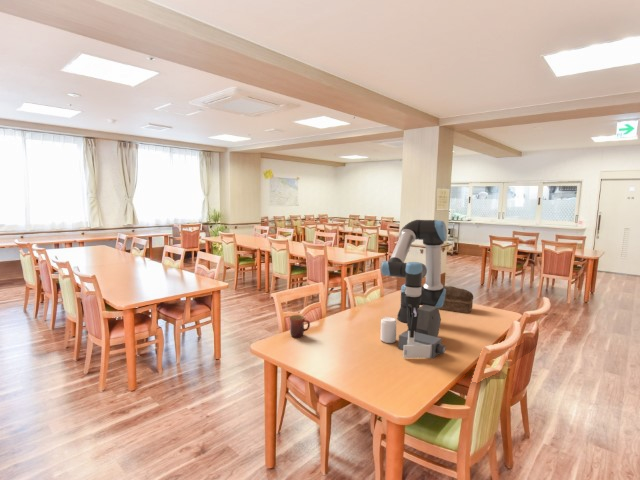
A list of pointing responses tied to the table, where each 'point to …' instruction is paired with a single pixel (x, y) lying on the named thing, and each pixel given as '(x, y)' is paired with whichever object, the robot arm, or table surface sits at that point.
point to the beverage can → (388, 330)
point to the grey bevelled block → (428, 320)
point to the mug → (298, 325)
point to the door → (417, 351)
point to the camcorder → (423, 342)
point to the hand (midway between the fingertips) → (410, 343)
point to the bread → (457, 300)
